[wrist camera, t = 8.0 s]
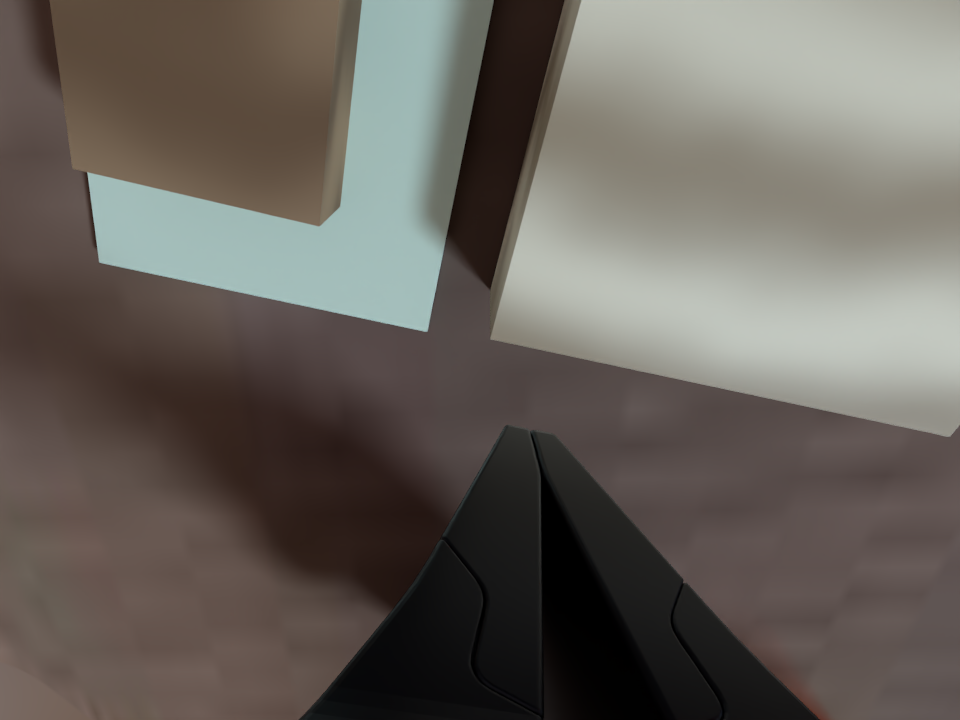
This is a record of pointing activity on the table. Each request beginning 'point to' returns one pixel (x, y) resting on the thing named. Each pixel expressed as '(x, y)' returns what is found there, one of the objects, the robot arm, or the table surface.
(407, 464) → the table surface
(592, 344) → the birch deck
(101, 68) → the walnut block
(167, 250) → the sage mat
